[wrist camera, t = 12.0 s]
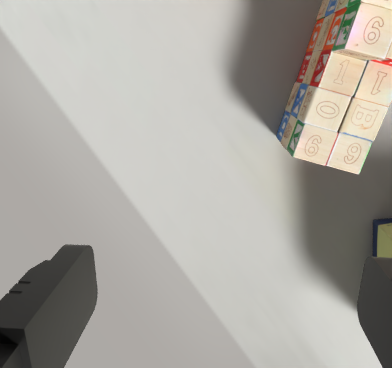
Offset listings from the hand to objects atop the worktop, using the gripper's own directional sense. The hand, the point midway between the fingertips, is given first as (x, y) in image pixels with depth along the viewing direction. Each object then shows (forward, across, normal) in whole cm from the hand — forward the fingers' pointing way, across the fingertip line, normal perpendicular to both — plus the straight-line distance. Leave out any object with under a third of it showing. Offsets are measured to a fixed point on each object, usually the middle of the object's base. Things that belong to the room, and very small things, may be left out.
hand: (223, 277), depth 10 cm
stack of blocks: (+30, -12, -8) cm, 34 cm away
